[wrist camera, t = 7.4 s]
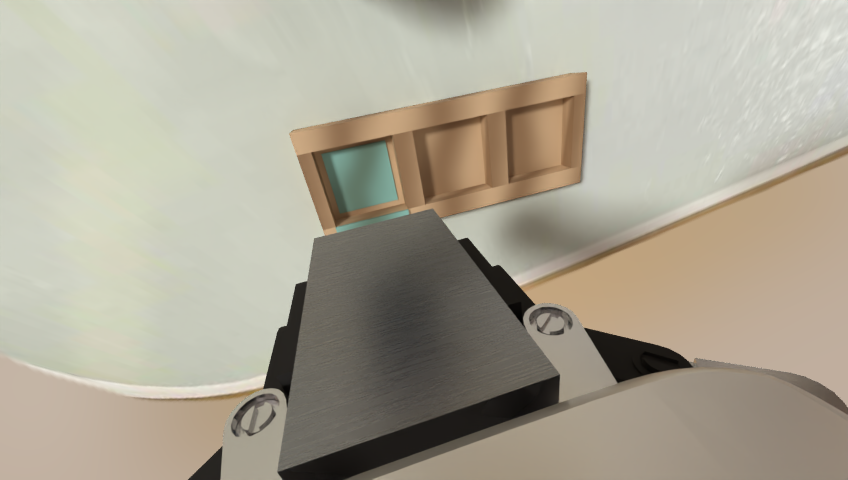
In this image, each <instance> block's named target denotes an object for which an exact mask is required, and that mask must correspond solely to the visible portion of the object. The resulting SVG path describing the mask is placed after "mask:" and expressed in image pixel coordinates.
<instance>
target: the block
mask: <svg viewBox="0 0 848 480" xmlns="http://www.w3.org/2000/svg"><path fill="white" fill-rule="evenodd" d="M559 390H560V374H559V372H558V371H557V370H556V368H555V367H554V366H553V365H552V363H551V362H550V361H549V359H548V358H547V357H546V355H545V354H544V353H543V351H542V350H541V349H540V348H539V346H538V345H537V344H536V342H535V341H534V340H533V338H532V337H531V336H530V334H529V333H528V332H527V331H526V329H525V328H524V327H523V325H522V324H521V323H520V321H519V320H518V319H517V317H516V316H515V315H514V314H513V312H512V311H511V310H510V308H509V307H508V306H507V304H506V303H505V302H504V301H503V299H502V298H501V297H500V295H499V294H498V293H497V291H496V290H495V289H494V287H493V286H492V285H491V284H490V282H489V281H488V280H487V278H486V277H485V276H484V274H483V273H482V272H481V270H480V269H479V268H478V267H477V265H476V264H475V263H474V261H473V260H472V259H471V257H470V256H469V255H468V254H467V252H466V251H465V250H464V248H463V247H462V246H461V244H460V243H459V242H458V240H457V239H456V238H455V237H454V235H453V234H452V233H451V231H450V230H449V229H448V227H447V226H446V225H445V223H444V222H443V221H442V220H441V218H440V217H439V216H438V214H437V213H436V212H435V210H434V209H433V208H432V209H428V210H424V211H420V212H417V213H413V214H409V215H405V216H401V217H397V218H393V219H389V220H385V221H381V222H377V223H373V224H370V225H366V226H362V227H358V228H354V229H350V230H346V231H342V232H338V233H334V234H330V235H326V236H322V237H319V238H315V239H314V243H313V250H312V256H311V262H310V269H309V275H308V281H307V287H306V294H305V300H304V306H303V312H302V319H301V325H300V331H299V338H298V344H297V350H296V356H295V363H294V369H293V375H292V381H291V388H290V394H289V400H288V407H287V413H286V419H285V425H284V432H283V438H282V444H281V450H280V457H279V463H278V469H277V473H278V474H279V476H280V477H281V478H282V480H344V479H347V478H350V477H352V476H355V475H358V474H361V473H363V472H366V471H369V470H372V469H374V468H377V467H380V466H383V465H385V464H388V463H391V462H394V461H397V460H399V459H402V458H405V457H408V456H411V455H413V454H416V453H419V452H422V451H425V450H427V449H430V448H433V447H436V446H439V445H441V444H444V443H447V442H450V441H453V440H455V439H458V438H461V437H464V436H467V435H469V434H472V433H475V432H478V431H481V430H483V429H486V428H489V427H492V426H495V425H498V424H500V423H503V422H506V421H509V420H512V419H515V418H518V417H520V416H523V415H526V414H529V413H532V412H535V411H538V410H540V409H543V408H546V407H549V406H552V405H555V404H557V403H559Z"/></svg>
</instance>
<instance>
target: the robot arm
mask: <svg viewBox="0 0 848 480" xmlns="http://www.w3.org/2000/svg"><path fill="white" fill-rule="evenodd" d="M458 242H459V243H460V244H461V246H462V247H463V248H464V250H465V251H466V252H467V254H468V255H469V256H470V257H471V259H472V260H473V261H474V263H475V264H476V265H477V267H478V268H479V269H480V270H481V272H482V273H483V274H484V276H485V277H486V278H487V280H488V281H489V282H490V284H491V285H492V286H493V287H494V289H495V290H496V291H497V293H498V294H499V295H500V297H501V298H502V299H503V301H504V302H505V303H506V304H507V306H508V307H509V308H510V310H511V311H512V312H513V314H514V315H515V316H516V317H517V319H518V320H519V321H520V323H521V324H522V325H523V327H524V328H525V329H526V331H527V332H528V333H529V334H530V336H531V337H532V338H533V340H534V341H535V342H536V344H537V345H538V346H539V348H540V349H541V350H542V351H543V353H544V354H545V355H546V357H547V358H548V359H549V361H550V362H551V363H552V365H553V366H554V367H555V368H556V370H557V371H558V372H559V374H560V390H559V403H557V404H555V405H552V406H549V407H546V408H543V409H540V410H538V411H535V412H532V413H529V414H526V415H523V416H520V417H518V418H515V419H512V420H509V421H506V422H503V423H500V424H498V425H495V426H492V427H489V428H486V429H483V430H481V431H478V432H475V433H472V434H469V435H467V436H464V437H461V438H458V439H455V440H453V441H450V442H447V443H444V444H441V445H439V446H436V447H433V448H430V449H427V450H425V451H422V452H419V453H416V454H413V455H411V456H408V457H405V458H402V459H399V460H397V461H394V462H391V463H388V464H385V465H383V466H380V467H377V468H374V469H372V470H369V471H366V472H363V473H361V474H358V475H355V476H352V477H350V478H347V479H344V480H848V407H847V406H846V405H845V403H844V402H843V401H842V400H841V399H840V398H839V397H838V396H837V395H836V394H835V393H834V392H833V391H831V390H829V389H828V388H826V387H825V386H823V385H822V384H820V383H818V382H816V381H813V380H811V379H809V378H807V377H804V376H800V375H796V374H792V373H788V372H781V371H775V370H769V369H762V368H756V367H749V366H743V365H737V364H730V363H724V362H716V361H711V360H703V359H698V358H695V359H694V362H689V361H687V360H686V359H685V358H684V357H682V356H681V355H680V354H678V353H676V352H674V351H672V350H670V349H668V348H665V347H661V346H658V345H654V344H650V343H646V342H642V341H638V340H633V339H629V338H625V337H621V336H617V335H612V334H608V333H604V332H600V331H596V330H591V329H587V328H583V326H582V324H581V323H580V321H579V319H578V318H577V317H576V315H575V314H574V313H573V312H572V311H571V310H569V309H567V308H566V307H563V306H561V305H557V304H551V303H544V304H543V303H542V304H538V305H535V304H534V303H533V302H532V300H531V299H530V298H529V297H528V296H527V295H526V294H525V293H524V292H523V290H522V289H521V288H520V287H519V286H518V285H517V284H516V283H515V281H514V280H513V279H512V278H511V277H510V276H509V275H508V274H507V273H506V271H505V270H504V269H503V268H502V267H501V266H500V265H496V266H493V267H492V266H491V265H490V264H489V262H488V261H487V260H486V259H485V258H484V257H483V255H482V254H481V253H480V252H479V251H478V249H477V248H476V247H475V246H474V245H473V244H472V242H471V241H470V240H469V239H468V238H465V239H461V240H458ZM306 287H307V281H306V282H302V283H299V284H296V286H295V291H294V295H293V300H292V305H291V309H290V314H289V319H288V323H287V326H284V327H281V328H279V330H278V332H277V336H276V340H275V344H274V348H273V352H272V356H271V360H270V364H269V368H268V372H267V376H266V380H265V384H264V388H263V390H260V391H258V392H255V393H253V394H252V395H250V396H248V397H247V398H245V399H244V400H243V401H242V402H241V403H239V404H238V405H237V406H236V408H235V409H234V410H233V411H232V412H231V414H230V415H229V417H228V419H227V421H226V424H225V428H224V435H223V446H222V447H221V448H220V449H219V450H218V451H217V452H216V453H215V454H214V455H213V456H212V457H211V458H210V459H209V460H208V461H207V462H206V463H205V464H204V465H203V466H202V467H201V468H199V469H198V470H197V471H196V473H194V474H193V476H191V477H190V478H189V479H188V480H282V478H281V477H280V476H279V474H278V473H277V469H278V463H279V457H280V450H281V444H282V438H283V432H284V425H285V419H286V413H287V407H288V400H289V394H290V388H291V381H292V375H293V369H294V363H295V356H296V350H297V344H298V338H299V331H300V325H301V319H302V312H303V306H304V300H305V294H306Z"/></svg>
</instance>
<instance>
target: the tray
mask: <svg viewBox="0 0 848 480" xmlns="http://www.w3.org/2000/svg"><path fill="white" fill-rule="evenodd" d="M586 81H587V72H584V73H569V74H564V75H559V76H555V77H550V78H545V79H540V80H535V81H530V82H525V83H520V84H516V85H511V86H506V87H501V88H496V89H491V90H486V91H482V92H477V93H472V94H467V95H462V96H457V97H452V98H448V99H443V100H438V101H433V102H428V103H423V104H418V105H413V106H409V107H404V108H399V109H394V110H389V111H384V112H379V113H375V114H370V115H365V116H360V117H355V118H350V119H345V120H341V121H336V122H331V123H326V124H321V125H316V126H311V127H306V128H302V129H297V130H293V131H292V132H291V133H290V134H289V135H290V138H291V140H292V143H293V146H294V149H295V152H296V154H297V157H298V160H299V163H300V166H301V169H302V171H303V174H304V177H305V180H306V183H307V186H308V188H309V191H310V194H311V197H312V200H313V203H314V205H315V208H316V211H317V214H318V217H319V220H320V222H321V225H322V228H323V231H324V234H325V236H326V235H330V234H334V233H338V232H342V231H346V230H350V229H354V228H358V227H362V226H366V225H370V224H373V223H377V222H381V221H385V220H389V219H393V218H397V217H401V216H405V215H409V214H413V213H417V212H420V211H424V210H428V209H432V208H433V209H434V210H435V212H436V213H437V214H438V216H439V217H440V218H441V217H445V216H449V215H453V214H457V213H461V212H465V211H469V210H473V209H477V208H480V207H484V206H488V205H492V204H496V203H500V202H504V201H508V200H512V199H516V198H519V197H523V196H527V195H531V194H535V193H539V192H543V191H547V190H551V189H555V188H558V187H562V186H566V185H570V184H574V183H578V182H580V175H581V159H582V144H583V128H584V112H585V97H586Z"/></svg>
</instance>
